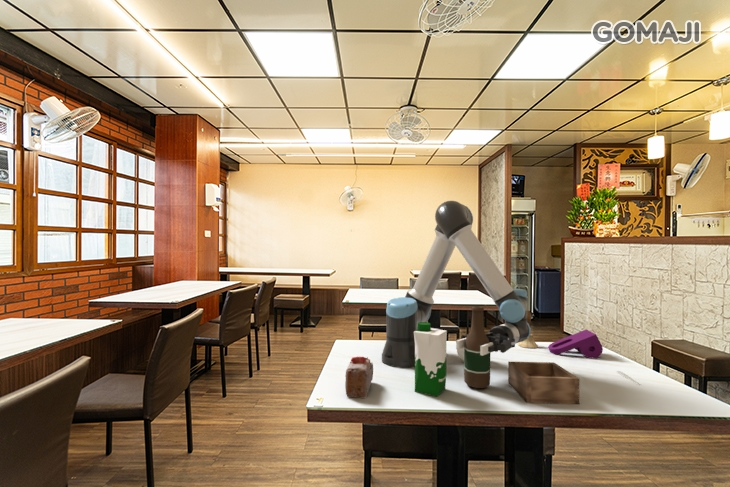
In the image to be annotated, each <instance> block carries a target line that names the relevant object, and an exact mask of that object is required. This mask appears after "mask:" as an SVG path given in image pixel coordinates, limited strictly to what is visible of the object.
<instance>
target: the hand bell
mask: <svg viewBox="0 0 730 487" xmlns="http://www.w3.org/2000/svg"><path fill="white" fill-rule="evenodd" d="M531 322H532V314H531V311H530V309H527V323H528V324H529V326H530V325H531ZM530 327H531V326H530ZM517 346H518V347H520V348H525V349H526V348H527V349H537V348H539V345H538V344H537V342H536V341H535V337H534V334H533V333H532V332H531V335H530V336H529V337H528V338H527V339H526V340H524V341H522V342H519V343H517Z"/></svg>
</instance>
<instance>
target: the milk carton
mask: <svg viewBox="0 0 730 487" xmlns="http://www.w3.org/2000/svg"><path fill="white" fill-rule="evenodd" d="M431 326H432V324H431V323H430V322H428V321H426V322H419V323H418V324H417V330H416V331H414V339H415V366H414V392H416V393H419V394H424V395H429V396H433V397H437V398H438V397H439V396H440V395H441V394H442V393H443V392H444V391H445V390H446V385H447V384H446V382H447V338H448V336H447V335H448V334H447V333H448V330H445V329H444V330H443V329H440V328H434V327H431Z"/></svg>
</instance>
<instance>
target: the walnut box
mask: <svg viewBox="0 0 730 487" xmlns="http://www.w3.org/2000/svg"><path fill="white" fill-rule="evenodd" d="M507 363H508V367H507V369H508V370H507V372H508V373H507V376H508V380H507V381H508V382H507V383H508V385H509V386H510V387H511V388H512V389H513V390H514V391H515V392H516V393H517V394H518V395H519V396H520V397H521V399H523V401H524V402H525V403H527V404H560V405H561V404H562V405H565V404H566V405H567V404H568V405H580V378H579V377H577V376H576V375H575V374H572V373H571V372H569V371H568V370H567V369H565V368H563V367H562V366H561V365H559V364H557V363H556V362H554V361H553V362H548V361H547V362H543V361H540V362H539V361H508V362H507Z"/></svg>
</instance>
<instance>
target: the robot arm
mask: <svg viewBox="0 0 730 487" xmlns="http://www.w3.org/2000/svg"><path fill="white" fill-rule="evenodd" d="M434 219H435V222H436V226H435V229H434V232H435V235H436V236H435V237H434V240H433V242H432V245H431V247H430V249H429V251H428V254H427V256H426V257H425V261H424V262H423V265H422V267H421V269H420V272H419V274H418V275H417V278H416V279H415V280H416V281H415V283H414V286H413V287H412V288H410V289H408V290H407V292H406V294H405V296H404V297H396V298H395V297H394V298H392V299H389V300H388V301H387V303H386V310H385V312H386V316H385V317H386V320H385V322H386V324H385V325H386V332H385V333H386V338H385V343H384V346H383V349H382V352H381V362H382V363H383V364H385V365H387V366H392V367H397V368H411V367H415V339H414V331H416V330H417V324H418V323H419V322H428V320H429V319H430V317H431V315H432V314H431V313H432V308H433V305H434V303H435V300H434V299H433V296H434V294H435V292H436V290H437V288H438V286H439V283H440V281H441V279H442V276H443V274H444V272H445V270H446V267H447V265H448V264H449V261H450V258H451V256H452V254H453V252H454V250H455V248H457V250H458V251H459V253H460V254H461V255H462V257H463V258H464V260H465V261H466V263H467V264H468V265H469V267H470V269H471V270H472V271H473V273H474V274H475V276H476V277H477V279H478V280H479V282H480V283H481V284H482V286H483V287H484V290H485V291H486V292H487V294H488V295H489V296H490V298H491V299H492V300H493V302H494V304H495V306H496V307H497V309H498V310H499V314H500V316H501V318H502V319H503V320H504V323H503V324H500V325H496V326H494V327H492V328H491V329H489V331H488V332H486V333H485V334H486V336H487V337H488V339H489V342H490V343H487V344H485V345H482V346H480V355H482V356H483V355H486V354H488V353H490V354H491V353H493V352H495V353H498V352H500V353H503V354H504V353H506V352H508V351H509V350H510V349H512V348H516V344H518V343H520V342H522V341H524V340H526V339H527V338H528V337H529V336H530V335H531V333H532V328H531V326H529V324H528V323H527V310H528V291H527V290H526V289H524V288H523V289H522V288H515V287H514V288H513V287H512V286H511V284H510V283H509V282H508V280H507V278H505V276H504V274H503V273H502V272H501V271H500V269H499V267H498V266H497V265H496V263H495V261H494V260H493V259H492V257H491V255H490V254H489V253H488V251H487V250H486V249H485V247H484V245H483V244H482V243H481V241H480V240H479V239H478V237H477V236H476V234H475V233H474V232H473V230H472V227H473V223H474V216H473V213H472V211H471V209H470V208H469V207H468V206H466V205H464V204H463V203H460V202H459V201H456V200H447V201H444V202H442V203H440V205H439V206H438V207H437V208H436V210H435V216H434ZM468 334H469V333H466V334H461V339H460V340H457V339H456V340H457V341H456V340H455V343H456V345H455V349H456V351H457V350H459V349H462V348H464V346H465V340H466V337H467V336H468Z"/></svg>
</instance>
